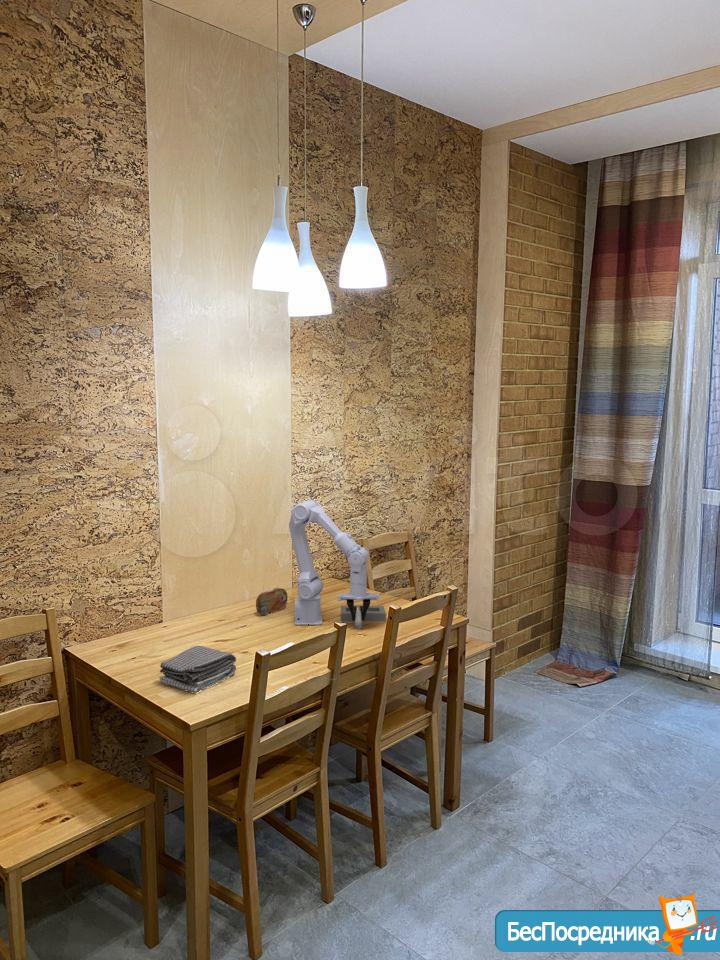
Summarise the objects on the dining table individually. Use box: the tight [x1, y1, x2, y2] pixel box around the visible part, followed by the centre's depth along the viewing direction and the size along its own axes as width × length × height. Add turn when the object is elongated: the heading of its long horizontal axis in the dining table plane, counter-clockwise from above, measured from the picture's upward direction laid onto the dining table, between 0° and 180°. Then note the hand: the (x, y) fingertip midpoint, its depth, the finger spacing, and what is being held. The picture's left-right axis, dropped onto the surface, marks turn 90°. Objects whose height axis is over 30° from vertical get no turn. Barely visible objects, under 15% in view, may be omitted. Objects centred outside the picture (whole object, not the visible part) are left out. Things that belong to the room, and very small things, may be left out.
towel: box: [159, 645, 237, 694], centre depth 222 cm, size 15×18×8 cm
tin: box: [255, 587, 288, 616], centre depth 284 cm, size 15×3×8 cm, turn 143°
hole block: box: [340, 605, 387, 624], centre depth 276 cm, size 16×9×4 cm, turn 92°
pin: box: [353, 604, 364, 630], centre depth 266 cm, size 3×3×8 cm
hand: (358, 620), depth 266 cm, fingers closed on pin, 3 cm apart
